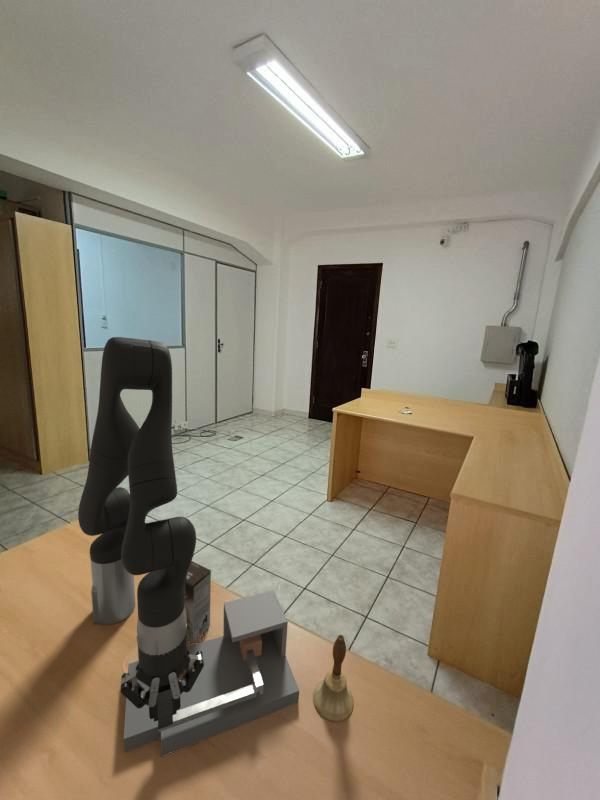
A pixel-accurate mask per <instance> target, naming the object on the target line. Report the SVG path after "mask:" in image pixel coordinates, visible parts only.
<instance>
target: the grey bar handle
mask: <svg viewBox="0 0 600 800" xmlns="http://www.w3.org/2000/svg"><path fill="white" fill-rule="evenodd" d="M246 662H247V666H248V669H249V673H250V677H251V680H252V685H249V686H246V687H244V688H241V689H238V690H235V691H232V692H229V693H226V694H224V695H221V696H218V697H215V698H212V699H209V700H207V701H204V702H201V703H198V704H195V705H192V706H189V707H187V708H184V709H181V710H178V711H176V712H177V714H175V715H173V703H172V691H171V686H170V684H169V685H163V686H161V687H160V688H158V695H157V710H158V732H161V731H164V730H166V729H169V728H172V727H175V726H177V725H180V724H183V723H185V722H188V721H191V720H194V719H196V718H199V717H202V716H205V715H207V714H210V713H213V712H215V711H218V710H221V709H224V708H226V707H229V706H232V705H235V704H237V703H240V702H243V701H245V700H248V699H251V698H254V697H256V696H259V695H262V694H263V682H262V678H261V675H260V671H259V668H258V665H257V661H256V658H255V655H254V651H253V649H252V650H249V651H246Z"/></svg>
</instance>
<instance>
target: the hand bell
mask: <svg viewBox="0 0 600 800" xmlns="http://www.w3.org/2000/svg"><path fill="white" fill-rule="evenodd" d="M346 653H347V645H346V642H345V637H344V634H343V635H342V634H338V635H337V638H336V639H335V641H334V643H333V647H332V659H333V667H332V669H330V670H328V671H327V672H326V673H325V676H324V679H322V680H321V681H319V682H318V684H317V685H316V686H315V689H314V691H313V705H314V707H315V709H316V711H317V712H318V714H320V716H322V717H323V718H324V719H325V720H328V721H330V722H334V723H336V722H337V723H338V722H342V721H345V720H346V719H348V718H349V716H351V714H352V712H353V709H354V705H355V704H354V703H355V702H354V696H353V693H352V692H351V689H350V688H349V687H348V685H347V684H348V683H347V678H346V676H345V674H344V673H343V672H342V664H343V663H344V660H345V658H346Z"/></svg>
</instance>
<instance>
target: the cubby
mask: <svg viewBox="0 0 600 800" xmlns="http://www.w3.org/2000/svg"><path fill="white" fill-rule="evenodd" d="M284 612H285V611H284V610H283V608H282V606H281V604H280V601H279V599H278V596H277V594H276V592H275V590H274V589H273V590H269V591H265V592H260V593H257V594H253V595H250V596H249V595H248V596H245V597H242V598H237V599H234V600H233V599H232V600H230V601H227V602H223V629H222V630H223V631H222V633H223V634H222V636H218V637H215V638H211V639H209V640H205V641H202V642H199V643H195V644H192V645H187V650H188V651H189V653H190V654H191V655H195V654H196V652H198V651H202V654H203V661H204V667H203V669H202V670H201V672H200V674H199V676H198V678H197V679H196V681H195V683H194V685H193V687H192V689H191V690H190V691H189V692H183V693H182V694H181V696H180V704H181V707H180V709H179V710H181V709H184V708H187V707H189V706H192V705H195V704H198V703H201V702H204V701H207V700H209V699H212V698H215V697H218V696H221V695H224V694H226V693H229V692H232V691H235V690H238V689H241V688H244V687H246V686H249V685H252V680H251V677H250V673H249V669H248V666H247V662H246V660H243V656H242V652H241V649H240V640H243V639H246V638H249V637H253V636H256V635H259V634H260V636H261V639H262V652H261V655H259V656H256V657H255V658H256V661H257V665H258V668H259V671H260V675H261V678H262V682H263V694H262V695H259V696H256V697H254V698H251V699H248V700H245V701H243V702H240V703H237V704H235V705H232V706H229V707H226V708H224V709H221V710H218V711H215V712H213V713H210V714H207V715H205V716H202V717H199V718H196V719H194V720H191V721H188V722H185V723H183V724H180V725H177V726H175V727H172V728H169V729H166V730H164V731H161V732H158V721H155V722H154V718H153V719H150V718H149V706H148V705H144V706H143V707H142V708H137V707H136V706H135V705H134V704H132V703H131V702H130V701H129V700H128V699H127V698H126V697H125V713H124V728H123V749H124V750H123V751H124V752H125V751H126V752H128V751H132V750H133V749H136V748H138V747H142V746H143V745H147V744H150V743H151V742H154V741H157V740H160V747H161V749H160V750H161V752H160V753H161V757H164V755H165V756H167V755H169V754H168V753H170V752H172V753H174V752H173V751H175V752H177V751H179V749H180V750H182V749H185V748H187V747H190V746H192V745H195V744H197V743H199V741H200V742H203V741H205V740H207V739H210V738H212V737H216V736H217V735H219V734H222V733H225V732H228V731H230V730H232V729H235V728H237V727H240V726H242V725H245V724H247V723H249V722H252V721H255V720H258V719H260V718H262V717H265V716H267V715H270V714H273V713H275V712H278V711H281V710H283V709H286V708H288V707H290V706H293V705H295V704H297V703H299V702H300V701H299V699H300V689H299V686H298V684H297V682H296V678H295V675H294V674H293V671H292V668H291V666H290V664H289V660H288V659H287V656H286V654H287V636H288V626H289V625H288V619H287V617H286V614H285V613H284ZM138 663H139V660H136V661H135V662H134V661H133V662H130V663H128V664H127V673H129V674H131V673H133V672H134V671H136V667H137V665H138ZM188 667H189V664H188V665H187V667H186V668H185V669H188ZM137 682H138V683H139V684H140V685H141V686H142V687H143V688H144V689H145V691H147V690H149V686H147V685H145V684H144V683H142V682H141V681H139V680H138V679H137ZM176 711H178V710H176ZM189 745H190V746H189ZM186 746H187V747H186ZM184 747H185V748H184ZM181 748H182V749H181ZM176 750H177V751H176ZM166 754H167V755H166ZM170 754H171V753H170Z"/></svg>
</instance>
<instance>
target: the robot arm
mask: <svg viewBox="0 0 600 800" xmlns="http://www.w3.org/2000/svg"><path fill="white" fill-rule="evenodd" d="M100 367H101V368H100V381H99V382H100V383H99V394H98V395H99V397H98V408H97V414H96V420H95V423H94V424H95V426H94V428H93V429H94V431H93V435H92V439H91V445H90V451H89V461H88V470H87V476H86V481H85V484H84V488H83V491H82V494H81V497H80V500H79V505H78V509H77V510H78V513H77V515H78V516H77V517H78V523H79V527H80V529H81V531H82V533H84V534H85V535H87V536H89V537H90V536H91V537H95V536H98V537H96V538H95V539H94V540H93V541H92V543H91V544H90V547H89V557H90V567H91V568H90V571H91V581H92V585H91V591H90V595H91V606H92V617H93V624H94V625H95V624H102V625H115V624H118V623H120V622H122V621H124V620H126V619H127V618H128V617H130V616H131V615H132V613H133V612H134V611H135V608H136V604H137V622H136V623H137V625H136V634H137V635H136V642H137V653H138V654H137V655H138V656H137V657H138V658H137V659H138V660H137V661H139V663H138V665H137V667H136V671H134V672H133V673H131V674H129V673H128V672H124V673H123V674H122V675H121V678H120V679H121V680H120V693H121V694H122V695H123V696H124V697H125V699H126V698H127V699H128V700H129V701H130V702H131V703H132V704H134V705H135V706H136V707H137V708H142V707H143V706H144V705H148V706H149V718H150V719H153V718H154V722H155V721H158V710H157V695H158V688H160V687H161V686H163V685H169V684H170V686H171V691H172V703H173V715H175V714H177V712H176V710H179V709H180V707H181V704H180V696H181V694H182V693H183V692H189V691H190V690H191V689H192V687H193V685H194V683H195V681H196V679H197V678H198V676H199V674H200V672H201V670H202V669H203V667H204V661H203V654H202V651H198V652H196V654H195V655H191V654H190V653H189V651H188V650H187V647H188V639H187V617H186V610H185V581H186V577H187V573H188V570H189V567H190V564H191V561H193V557H194V554H195V550H196V545H197V533H196V528H195V526H194V524H193V523H192V522H191V520H190V519H189V518H187V517H185V516H174V517H170V518H164V519H161V520H156V521H150V522H146V517H147V516H148V514H149V513H150V512H151V511H154V509H158V508H159V507H161V506H164V505H166V504H169V503H171V502H172V501H174V500H175V499H176V498H177V496H178V485H177V477H176V476H177V475H176V469H175V462H174V453H173V440H172V439H173V437H172V435H173V434H172V433H173V432H172V431H173V430H172V428H173V427H172V426H173V425H172V424H173V423H172V422H173V363H172V356H171V352H170V349H169V347H168V346H167V345H166V344H165V343H164V342H161V341H156V340H149V339H141V338H133V337H125V336H124V337H123V336H112V337H111V338H108V340H107V341H106V343H105V346H104V348H103V351H102V357H101V366H100ZM123 390H134V391H135V390H137V391H141V390H143V391H151V392H152V393H151V394H152V396H151V397H152V398H151V399H152V400H151V405H150V409H149V412H148V413H147V416H146V417H145V420H144V421H143V423H142V425H140V427H139V425H138V424H137V422H136V420H135V418H133V417H132V415H131V414H130V412H129V411H128V409H127V408H126V405H125V404H124V402H123V400H122V397H121V392H122V391H123ZM127 477H128V486H129V488H128V489H129V491H128V489H126V488H124V487H123V486H122V487H121V486H120V485H121V483H122V482H123V481H124V480H126V478H127ZM119 486H120V487H119ZM140 575H144V576H143V577H142V578H141V580H140V581H139V582H138V585H137V592H136V589H135V586H136V585H135V576H140ZM136 599H137V601H136ZM136 602H137V603H136ZM188 664H189V667H188V668H186V667H187V665H188ZM184 671H185V672H184ZM183 673H184V674H183ZM182 674H183V677H182V678H181V679H180V676H181V675H182ZM137 679H138V680H139V681H141V682H142V683H144V684H145V685H147V686H149V690H147V691H145V689H144V688H143V687H142V686H141V685H140V684H139V683H138V682H137Z"/></svg>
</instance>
